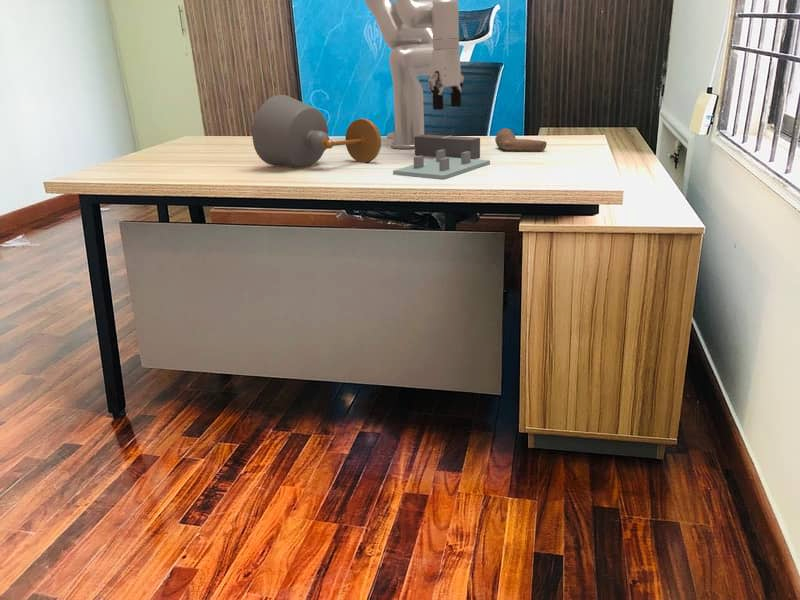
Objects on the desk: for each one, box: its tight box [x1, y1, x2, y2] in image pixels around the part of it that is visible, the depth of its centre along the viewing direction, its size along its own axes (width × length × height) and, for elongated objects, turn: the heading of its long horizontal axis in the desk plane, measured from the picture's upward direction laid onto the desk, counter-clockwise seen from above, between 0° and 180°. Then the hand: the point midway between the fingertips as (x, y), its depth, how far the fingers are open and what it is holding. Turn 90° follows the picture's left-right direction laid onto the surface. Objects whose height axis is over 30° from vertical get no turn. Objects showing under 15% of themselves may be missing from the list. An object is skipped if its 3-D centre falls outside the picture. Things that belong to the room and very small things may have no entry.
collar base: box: [392, 150, 491, 180], centre depth 190 cm, size 16×24×4 cm, turn 144°
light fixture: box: [251, 94, 382, 169], centre depth 199 cm, size 20×25×27 cm
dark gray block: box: [414, 133, 481, 159], centre depth 209 cm, size 20×5×6 cm, turn 54°
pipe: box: [494, 127, 547, 153], centre depth 216 cm, size 6×17×10 cm
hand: (447, 107), depth 205 cm, fingers open, 9 cm apart
